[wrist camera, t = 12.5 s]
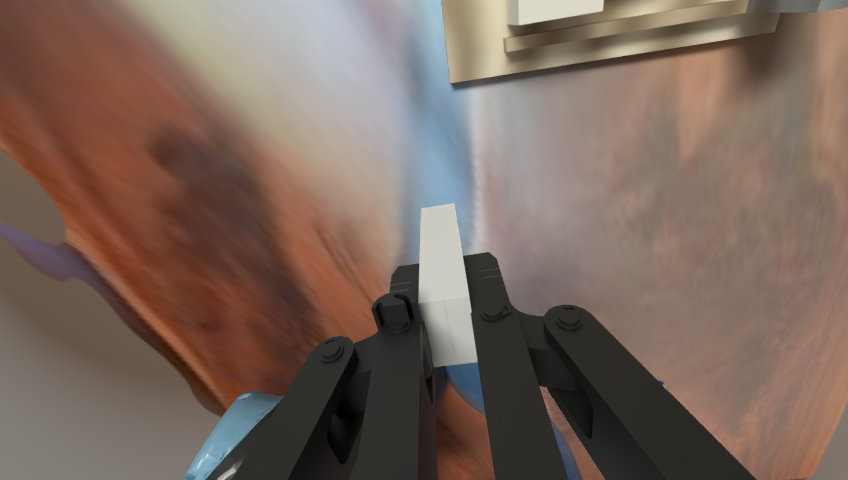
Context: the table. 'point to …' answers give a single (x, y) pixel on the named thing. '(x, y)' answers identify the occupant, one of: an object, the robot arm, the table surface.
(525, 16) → the white block with rods
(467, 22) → the board
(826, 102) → the table surface
